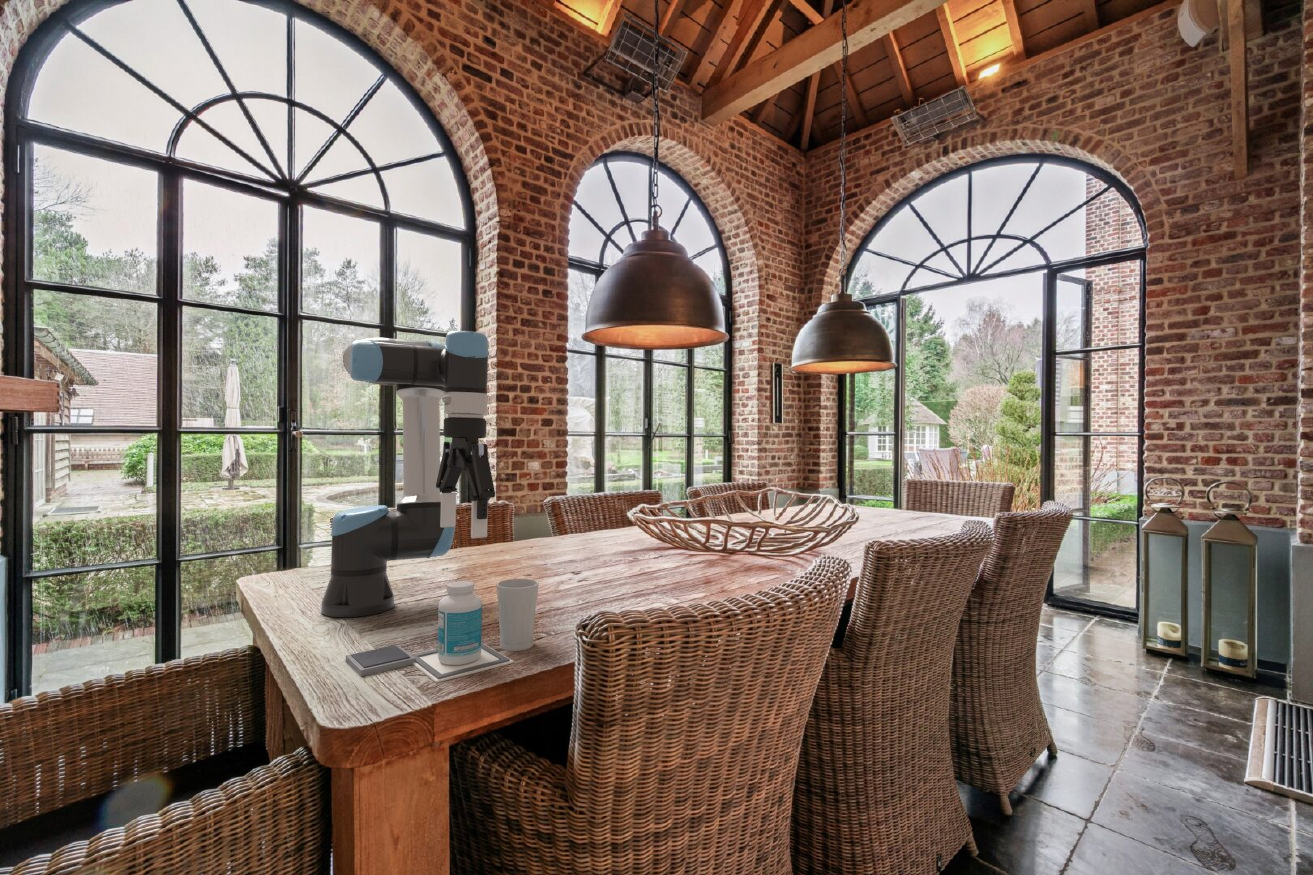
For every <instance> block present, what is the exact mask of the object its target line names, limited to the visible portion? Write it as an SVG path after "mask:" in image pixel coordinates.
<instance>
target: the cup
mask: <svg viewBox="0 0 1313 875" xmlns="http://www.w3.org/2000/svg"><path fill="white" fill-rule="evenodd" d="M539 584H540V583H539V581H538V580H536V579H531V578H510V579H509V578H508V579H504V580H500V581H498V582H497V583H496V593H497V594H496V595H497V607H498V608H497V609H498V610H497V611H498V623H499V624H498V625H499V648H500V649H501V650H505V651H509V652H510V651H511V652H512V651H513V652H517V651H524V650H528V649H530V648H532V647H533V646H534V632H535V630H534V629H535V621H536V620H535V619H536V608H537V600H538V593H539Z"/></svg>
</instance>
